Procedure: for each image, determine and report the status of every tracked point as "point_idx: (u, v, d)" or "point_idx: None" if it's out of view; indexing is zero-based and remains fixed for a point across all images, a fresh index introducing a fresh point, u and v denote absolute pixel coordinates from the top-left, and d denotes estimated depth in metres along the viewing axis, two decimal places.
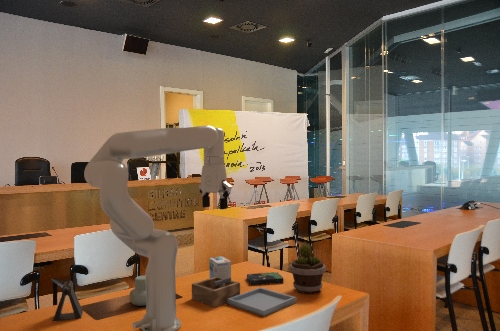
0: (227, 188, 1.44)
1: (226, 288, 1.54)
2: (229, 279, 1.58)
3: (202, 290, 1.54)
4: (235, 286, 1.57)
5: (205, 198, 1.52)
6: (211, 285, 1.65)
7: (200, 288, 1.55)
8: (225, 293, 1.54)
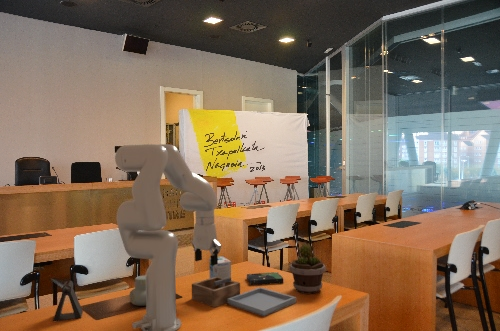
0: (217, 247, 1.58)
1: (226, 288, 1.54)
2: (229, 279, 1.58)
3: (202, 290, 1.54)
4: (235, 286, 1.57)
5: (197, 253, 1.66)
6: (211, 285, 1.65)
7: (200, 288, 1.55)
8: (225, 293, 1.54)
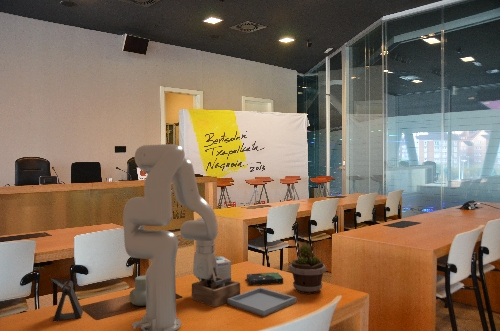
0: (212, 280, 1.60)
1: (226, 288, 1.54)
2: (229, 279, 1.58)
3: (202, 290, 1.54)
4: (235, 286, 1.57)
5: None
6: (211, 285, 1.65)
7: (200, 288, 1.55)
8: (225, 293, 1.54)
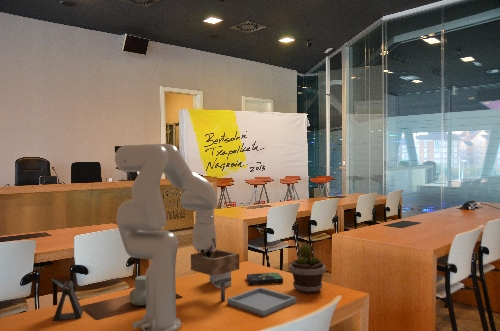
0: (211, 251, 1.59)
1: (225, 258, 1.53)
2: (229, 279, 1.58)
3: (201, 260, 1.54)
4: (234, 257, 1.57)
5: None
6: (210, 257, 1.64)
7: (199, 258, 1.54)
8: (224, 263, 1.53)
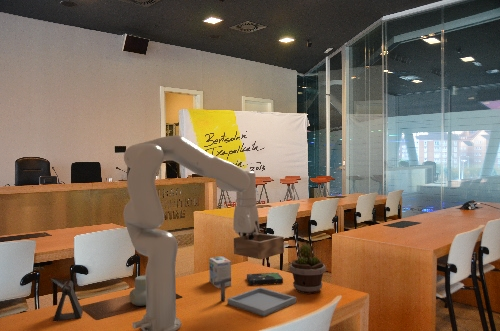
0: (254, 234, 1.54)
1: (271, 241, 1.48)
2: (229, 279, 1.58)
3: (246, 243, 1.48)
4: (279, 240, 1.52)
5: None
6: None
7: (244, 241, 1.49)
8: (270, 246, 1.48)
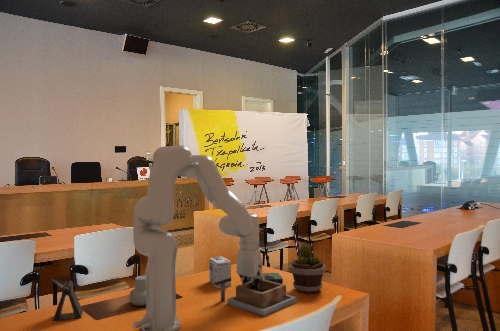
0: (259, 277, 1.53)
1: (273, 291, 1.48)
2: (229, 279, 1.58)
3: (248, 293, 1.48)
4: (281, 289, 1.52)
5: None
6: None
7: (246, 291, 1.49)
8: (272, 296, 1.48)
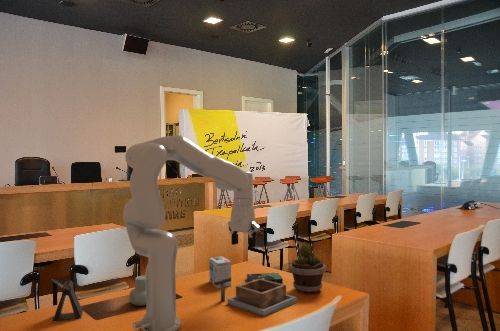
0: (256, 229, 1.54)
1: (273, 291, 1.48)
2: (229, 279, 1.58)
3: (248, 293, 1.48)
4: (281, 289, 1.52)
5: (234, 236, 1.62)
6: (254, 287, 1.59)
7: (246, 291, 1.49)
8: (272, 296, 1.48)
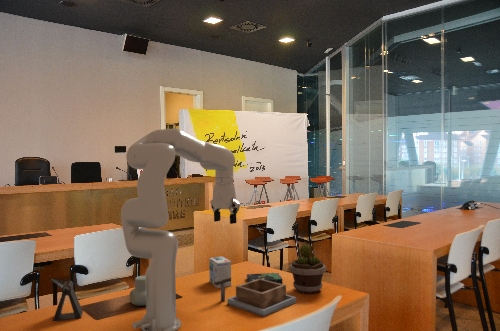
0: (236, 205, 1.64)
1: (273, 291, 1.48)
2: (229, 279, 1.58)
3: (248, 293, 1.48)
4: (281, 289, 1.52)
5: (216, 213, 1.72)
6: (254, 287, 1.59)
7: (246, 291, 1.49)
8: (272, 296, 1.48)
